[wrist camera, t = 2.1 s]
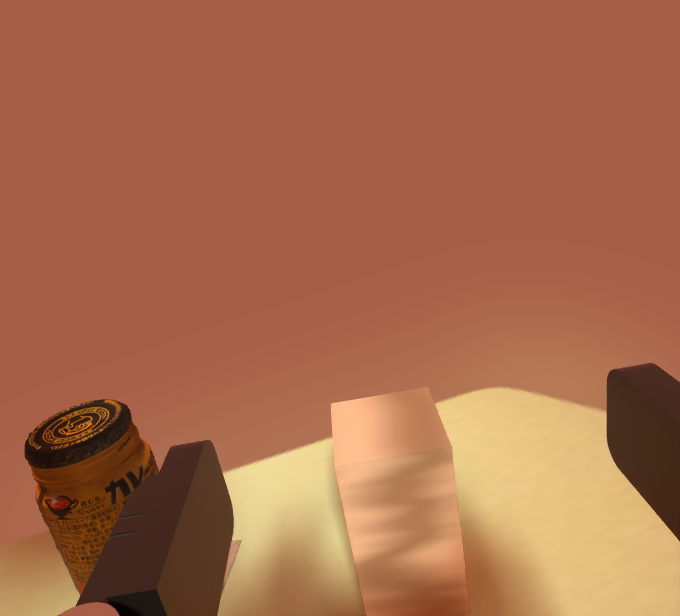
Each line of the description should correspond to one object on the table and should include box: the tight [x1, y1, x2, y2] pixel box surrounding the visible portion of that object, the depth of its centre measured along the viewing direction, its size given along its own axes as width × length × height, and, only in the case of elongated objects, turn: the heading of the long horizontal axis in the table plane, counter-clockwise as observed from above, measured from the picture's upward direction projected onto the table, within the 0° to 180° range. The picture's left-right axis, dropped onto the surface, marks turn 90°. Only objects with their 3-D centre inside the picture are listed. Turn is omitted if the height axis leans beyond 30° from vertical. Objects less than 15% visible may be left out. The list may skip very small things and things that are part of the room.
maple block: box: [331, 387, 470, 616], centre depth 27 cm, size 5×5×11 cm
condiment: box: [25, 399, 241, 596], centre depth 30 cm, size 7×8×12 cm
